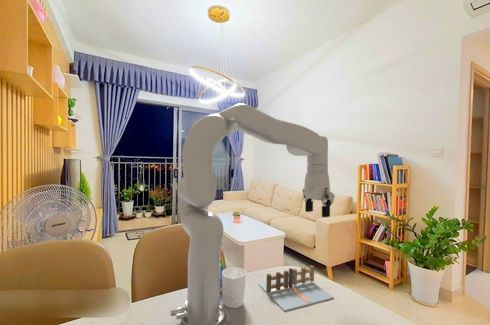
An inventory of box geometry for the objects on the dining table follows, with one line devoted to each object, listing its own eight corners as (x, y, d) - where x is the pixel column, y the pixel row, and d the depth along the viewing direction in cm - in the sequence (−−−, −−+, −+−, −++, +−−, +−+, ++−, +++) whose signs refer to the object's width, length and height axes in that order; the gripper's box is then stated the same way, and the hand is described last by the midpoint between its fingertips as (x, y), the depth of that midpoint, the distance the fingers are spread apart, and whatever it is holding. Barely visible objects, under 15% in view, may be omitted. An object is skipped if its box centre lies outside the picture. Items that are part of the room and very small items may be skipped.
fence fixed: (268, 294, 87) (268, 274, 87) (266, 292, 88) (266, 272, 88) (293, 288, 91) (293, 269, 91) (290, 286, 92) (291, 267, 92)
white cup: (241, 294, 86) (242, 266, 86) (248, 307, 78) (248, 276, 78) (219, 297, 84) (220, 268, 84) (223, 311, 76) (224, 279, 76)
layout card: (284, 311, 77) (284, 310, 77) (258, 284, 93) (258, 283, 93) (333, 298, 85) (333, 296, 85) (301, 275, 101) (301, 274, 101)
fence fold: (293, 285, 91) (294, 270, 91) (292, 283, 92) (292, 269, 92) (313, 280, 95) (314, 266, 95) (311, 279, 96) (312, 265, 96)
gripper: (296, 168, 100) (295, 210, 100) (324, 170, 84) (324, 220, 84) (311, 168, 103) (311, 208, 103) (342, 169, 87) (341, 218, 87)
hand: (317, 214), depth 94 cm, fingers open, 9 cm apart
